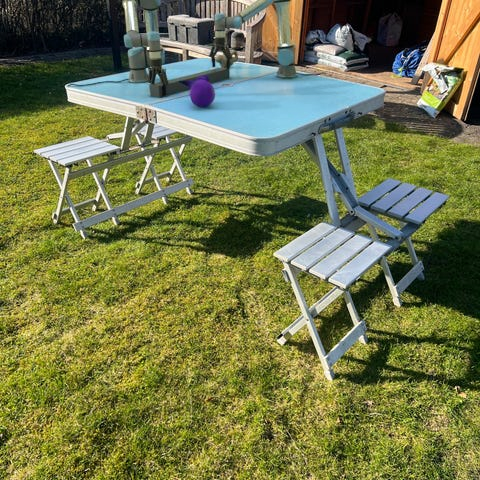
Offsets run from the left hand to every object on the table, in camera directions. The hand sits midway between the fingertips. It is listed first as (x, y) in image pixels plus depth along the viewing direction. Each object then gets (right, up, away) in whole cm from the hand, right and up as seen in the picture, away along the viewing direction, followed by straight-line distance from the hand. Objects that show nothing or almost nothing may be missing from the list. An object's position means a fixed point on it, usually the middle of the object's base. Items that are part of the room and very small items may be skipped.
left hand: (159, 95), depth 296 cm
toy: (+28, -14, -24) cm, 39 cm away
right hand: (+39, +34, +41) cm, 66 cm away
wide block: (+20, +13, +23) cm, 33 cm away
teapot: (+42, +51, +86) cm, 109 cm away
